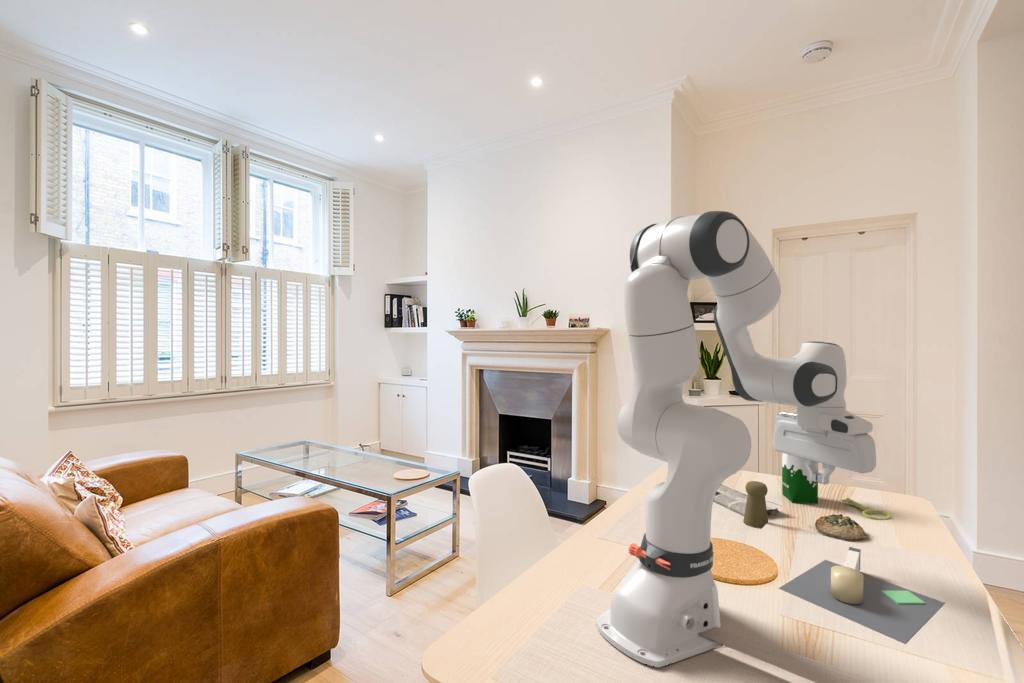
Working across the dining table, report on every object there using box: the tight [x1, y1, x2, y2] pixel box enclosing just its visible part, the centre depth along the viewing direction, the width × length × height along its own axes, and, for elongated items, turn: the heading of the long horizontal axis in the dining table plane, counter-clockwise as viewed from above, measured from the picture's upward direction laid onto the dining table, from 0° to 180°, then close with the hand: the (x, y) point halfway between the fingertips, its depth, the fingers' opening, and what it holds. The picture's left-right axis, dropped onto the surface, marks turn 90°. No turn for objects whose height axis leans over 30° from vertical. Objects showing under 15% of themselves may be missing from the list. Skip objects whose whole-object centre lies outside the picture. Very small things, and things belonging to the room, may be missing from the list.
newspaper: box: [713, 482, 784, 517], centre depth 149 cm, size 35×12×4 cm, turn 20°
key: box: [841, 497, 892, 521], centre depth 136 cm, size 7×12×2 cm, turn 26°
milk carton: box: [781, 453, 819, 505], centre depth 146 cm, size 9×9×20 cm
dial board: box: [778, 559, 946, 645], centre depth 92 cm, size 20×20×2 cm
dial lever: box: [831, 546, 864, 604], centre depth 95 cm, size 16×5×5 cm, turn 139°
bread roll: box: [814, 513, 868, 542], centre depth 123 cm, size 11×11×5 cm
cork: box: [742, 480, 769, 529], centre depth 128 cm, size 6×6×11 cm
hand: (819, 482), depth 103 cm, fingers closed
